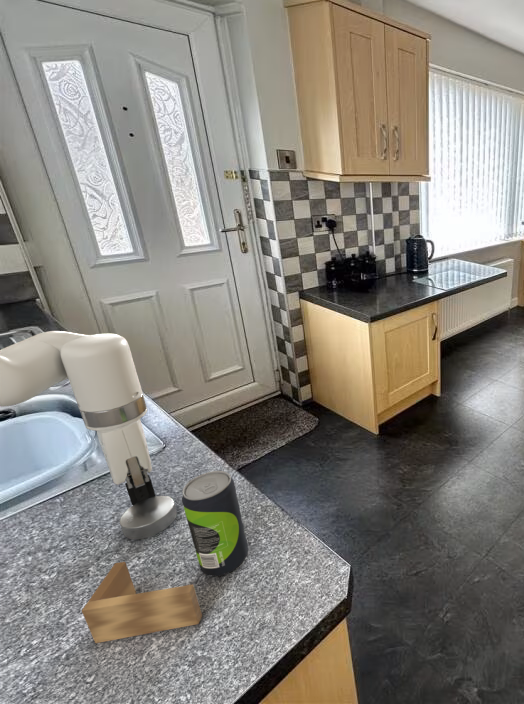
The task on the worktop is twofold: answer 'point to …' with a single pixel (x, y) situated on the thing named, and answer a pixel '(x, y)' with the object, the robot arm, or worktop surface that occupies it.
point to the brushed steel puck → (148, 517)
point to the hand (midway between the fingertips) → (143, 499)
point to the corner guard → (137, 608)
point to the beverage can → (215, 522)
